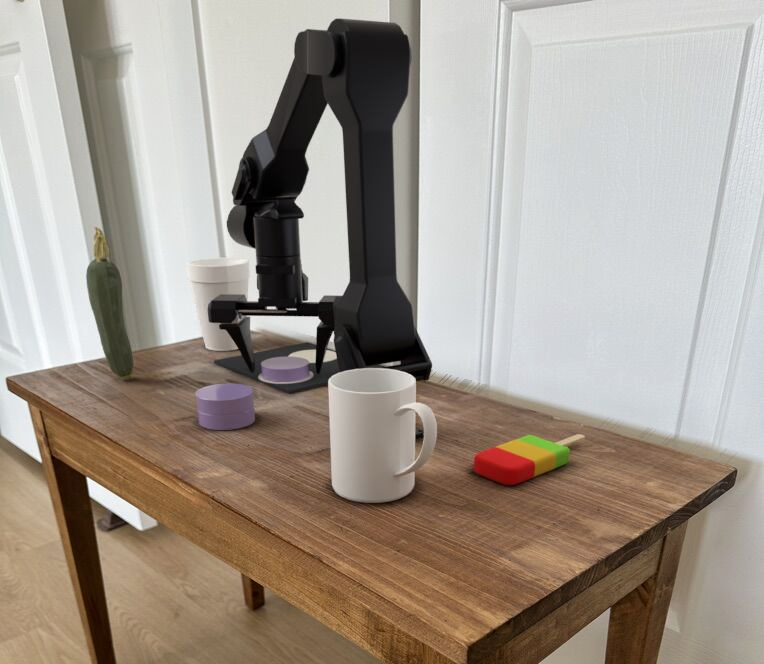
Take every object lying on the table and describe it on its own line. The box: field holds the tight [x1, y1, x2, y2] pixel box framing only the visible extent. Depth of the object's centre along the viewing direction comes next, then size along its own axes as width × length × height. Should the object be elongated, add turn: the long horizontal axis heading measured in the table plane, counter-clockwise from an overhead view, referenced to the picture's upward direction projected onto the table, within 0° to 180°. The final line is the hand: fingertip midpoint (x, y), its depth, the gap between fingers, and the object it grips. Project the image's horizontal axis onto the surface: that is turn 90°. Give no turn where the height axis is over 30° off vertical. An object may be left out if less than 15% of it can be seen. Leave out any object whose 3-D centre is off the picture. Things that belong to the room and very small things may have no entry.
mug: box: [327, 368, 438, 504], centre depth 69 cm, size 12×8×10 cm, turn 38°
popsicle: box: [473, 433, 586, 486], centre depth 78 cm, size 6×15×2 cm, turn 131°
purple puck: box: [194, 382, 255, 415], centre depth 89 cm, size 7×7×2 cm
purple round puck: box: [261, 357, 310, 382], centre depth 105 cm, size 7×7×2 cm
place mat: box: [213, 341, 386, 394], centre depth 111 cm, size 20×17×1 cm
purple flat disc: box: [196, 405, 256, 431], centre depth 89 cm, size 7×7×2 cm
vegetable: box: [85, 226, 134, 381], centre depth 100 cm, size 4×4×20 cm
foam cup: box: [185, 257, 251, 352], centre depth 119 cm, size 10×9×13 cm
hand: (285, 372), depth 105 cm, fingers open, 9 cm apart
